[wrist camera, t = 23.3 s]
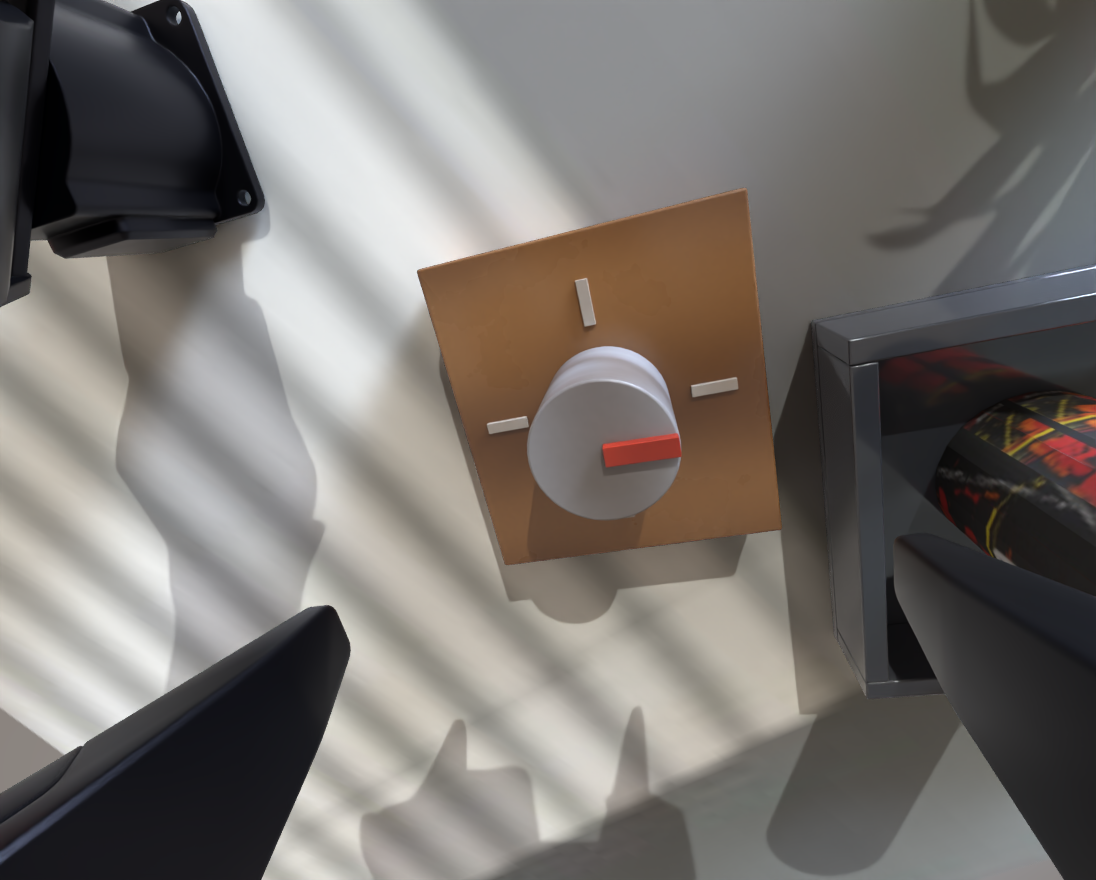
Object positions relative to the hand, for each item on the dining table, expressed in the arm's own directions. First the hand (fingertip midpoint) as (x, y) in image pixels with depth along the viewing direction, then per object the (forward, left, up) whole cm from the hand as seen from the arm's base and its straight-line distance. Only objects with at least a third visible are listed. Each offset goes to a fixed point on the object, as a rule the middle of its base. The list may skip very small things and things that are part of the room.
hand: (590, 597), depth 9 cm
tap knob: (0, 0, -10) cm, 10 cm away
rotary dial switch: (0, 0, -13) cm, 13 cm away
